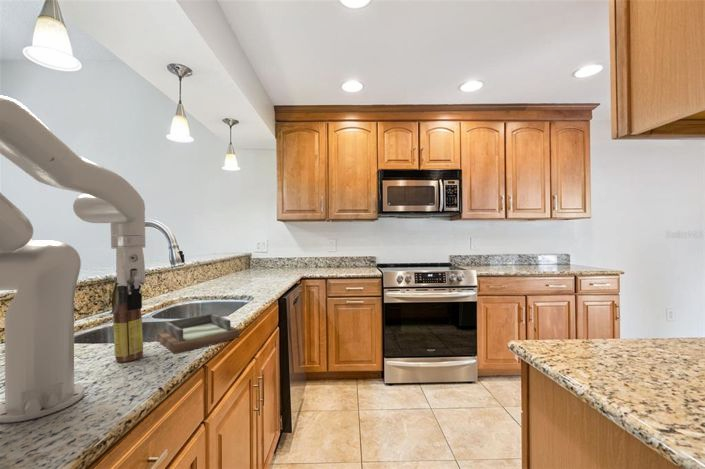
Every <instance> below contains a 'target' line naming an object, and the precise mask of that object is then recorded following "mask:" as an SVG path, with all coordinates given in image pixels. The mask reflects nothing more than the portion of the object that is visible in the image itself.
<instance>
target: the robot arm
mask: <svg viewBox="0 0 705 469" xmlns="http://www.w3.org/2000/svg"><path fill="white" fill-rule="evenodd" d="M0 155H2V156H3V157H4V158H6V159H7V160H8V161H10V162H11V163H12V164H14V165H15V166H17V167H18V168H19V169H21V170H22V171H23V172H25V173H26V174H28V175H29V176H31V177H32V178H33V179H34V180H36V181H37V182H39V183H41V184H44V185H46V186H50V187H54V188H56V189H62V190H66V191H71V192H76V193H81V194H80V195H79V196H77V197H76V199H75V200H74V201H73V205H72V206H73V208H72V209H73V212H74V214H75V216H77V218H79V219H81V220H82V221H84V222H86V223H90V224H91V223H92V224H110V249H114V250H116V251H115V258H116V259H115V264H116V267H115V269H116V270H115V271H116V272H115V274H116V281H117V283H118V285H120V284H121V285H123V286H127V291H128V295H126V296H127V310H135V309H141V310H142V308H143V297H142V296H143V294H142V288H141V287H142V286H143V285H145V284H146V282H147V281H146V268H145V264H146V263H145V255H144V249H143V248H146V212H145V211H146V206H145V200H144V199H143V197H142V196H141V194H140V193H139V192H138V191H137V189H135V187H133V186H132V185H131V183H130V182H128V181H127V180H126V179H125V177H122V176H121V175H119V174H118V173H117V172H114V171H113V170H110V169H109V168H106V167H104V166H102V165H99V164H98V163H96V162H94V161H91V160H89V159H87V158H86V157H83V156H81V155H79V154H77V153H76V152H74V151H73V150H72V149H71V148H70V147H69V146H68V145H66V143H64V142H63V140H61V139H60V138H59V137H58V136H57V135H56V134H55V133H54V132H53V131H52V130H50V128H49V127H48V126H46V125H45V124H44V123H43V122H42V121H41V120H40V119H39V118H38V117H37V116H36V115H35V114H34V113H32V112H31V111H30V110H29V109H28V108H27V107H26V106H25V105H23V104H22V102H20V101H18V100H16V99H14V98H11V97H8V96H4V95H1V94H0ZM33 235H34V227H33V225H32V222H31V220H30V219H29V218H28V216H26V215H25V214H24V213H23V212H22V211H21V209H20V208H18V207H17V205H15V204H14V203H12V201H11V200H9V199H8V197H6V196H5V195H4V194H2V193H1V192H0V291H16V293H15V295H14V296H13V298H12V299H11V301H10V303H9V305H8V306H7V308H6V312H5V316H4V401H3V402H1V403H0V423H5V424H6V423H17V422H23V421H29V420H33V419H38V418H41V417H45V416H48V415H51V414H54V413H56V412H59V411H61V410H63V409H66V408H68V407H70V406H72V405H74V404H75V403H77V402H78V401H79V400H81V399H82V398H83V397H84V396H85V387H84V386H83V385H81V384H78V383H75V296H76V295H75V294H76V288H77V283H78V279H79V276H80V272H81V266H82V265H81V264H82V260H81V257H80V254H79V252H78V250H76V249H75V248H74V247H73V246H72V245H70V244H67V243H65V242H62V241H58V240H51V239H49V240H48V239H33V237H34V236H33ZM141 285H142V286H141ZM130 287H131V288H130Z"/></svg>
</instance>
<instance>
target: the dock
mask: <svg viewBox="0 0 705 469" xmlns="http://www.w3.org/2000/svg"><path fill="white" fill-rule="evenodd" d="M163 324H164V325H163V326H164V327H163V328H164V331H161V332H157V333H156V334H157V335H156V339H157V340H156V341H157V342H158V343H159V342H160V343H159V344H160V345H162V346H163V347H164V348H166V349H167V350H168V351H170V352H171V353H173V354H174V355H175V354H179V353H182V352H187V351H190V350H194V349H198V348H202V347H203V348H204V347H207V346H210V345H216V344H219V343H224V342H227V341H231V340H234V339H235V340H236V339H239V338H240V329H238V328H236V327H234V326H231V319H228V318H225V317H222V316H220V315H218V314H215V313H208V314H203V315H196V316H191V317H186V318H185V317H184V318H181V319H179V318H178V319H174V320H168V321H164V323H163Z"/></svg>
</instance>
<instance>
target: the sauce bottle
mask: <svg viewBox="0 0 705 469" xmlns="http://www.w3.org/2000/svg"><path fill="white" fill-rule="evenodd" d="M130 288H131V287H130ZM116 292H117V303H116V305H115V307H114V308H113V310H112V315H113V324H112V325H113V326H112V327H113V341H114V357H115V360H116V361H117V362H118V363H124V362H125V363H126V362H132V361H135V360H138V359H140V358H142V357H143V355H144V337H143V336H144V335H143V319H142V313H141V312H142V311H141V310H142V308H141V309H135V310H127V296H126V295H128V291H127V286H123V285H121V284H120V285H119V284H117V285H116Z"/></svg>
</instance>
